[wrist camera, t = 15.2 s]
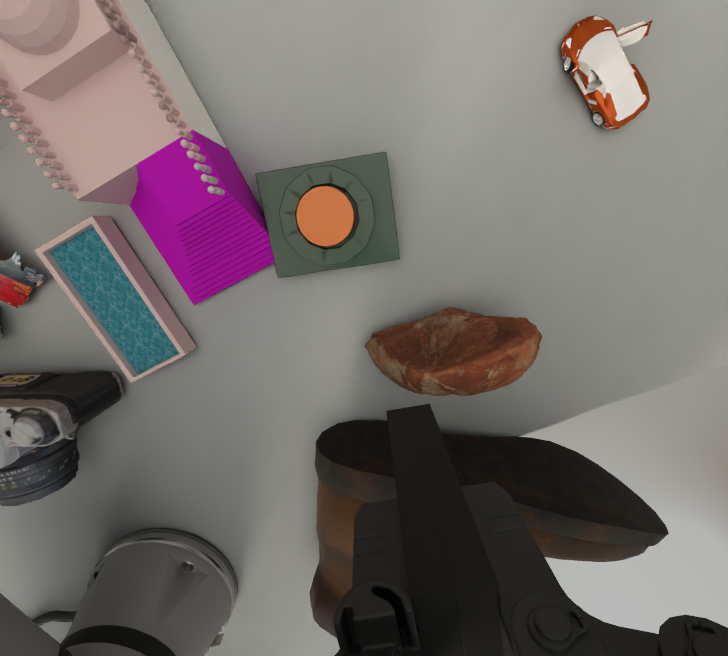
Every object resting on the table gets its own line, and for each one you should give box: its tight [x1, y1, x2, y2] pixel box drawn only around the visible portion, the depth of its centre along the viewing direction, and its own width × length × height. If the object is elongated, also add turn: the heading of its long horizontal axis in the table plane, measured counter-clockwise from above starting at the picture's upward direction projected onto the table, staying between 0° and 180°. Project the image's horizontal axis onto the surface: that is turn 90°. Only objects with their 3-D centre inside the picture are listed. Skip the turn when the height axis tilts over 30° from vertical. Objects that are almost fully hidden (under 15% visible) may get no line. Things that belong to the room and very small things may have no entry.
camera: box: [0, 371, 124, 506], centre depth 31 cm, size 16×10×10 cm, turn 92°
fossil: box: [365, 307, 542, 396], centre depth 30 cm, size 13×8×10 cm
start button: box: [296, 186, 355, 246], centre depth 26 cm, size 4×4×2 cm
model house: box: [0, 0, 274, 383], centre depth 25 cm, size 25×17×11 cm
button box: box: [255, 152, 400, 278], centre depth 28 cm, size 10×8×4 cm
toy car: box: [561, 16, 653, 129], centre depth 26 cm, size 5×8×3 cm, turn 37°
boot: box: [310, 420, 669, 638], centre depth 33 cm, size 11×30×20 cm
